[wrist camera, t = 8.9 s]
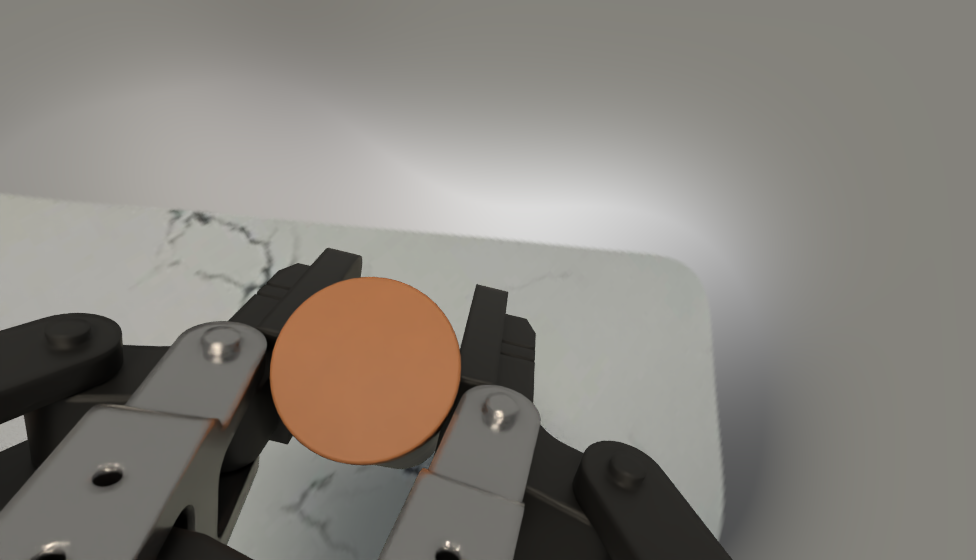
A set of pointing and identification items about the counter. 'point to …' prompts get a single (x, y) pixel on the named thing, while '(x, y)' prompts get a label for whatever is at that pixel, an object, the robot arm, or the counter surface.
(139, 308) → the counter surface
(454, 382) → the stylus
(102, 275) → the counter surface
